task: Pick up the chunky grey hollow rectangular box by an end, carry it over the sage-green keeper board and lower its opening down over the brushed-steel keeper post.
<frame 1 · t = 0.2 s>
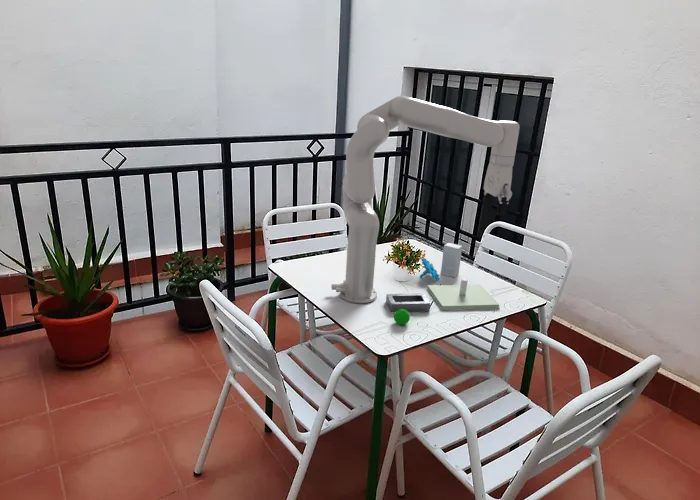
hand: (493, 210, 166), 31 cm above the table, tool pointing down, fingers open, 9 cm apart
gear: (429, 278, 187), on the table
skincare box: (449, 274, 191), on the table
grey hollow rectangular box: (407, 306, 163), on the table
keeper board: (461, 298, 171), on the table
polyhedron: (401, 324, 153), on the table
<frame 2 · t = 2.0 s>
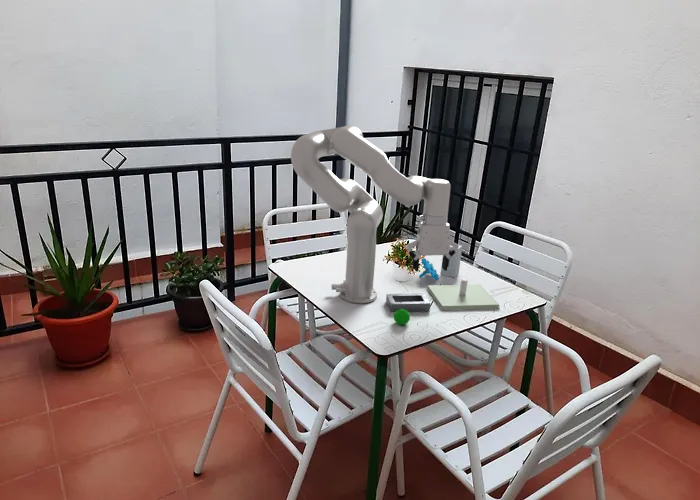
hand: (430, 269, 160), 13 cm above the table, tool pointing down, fingers open, 9 cm apart
nothing on the table moved.
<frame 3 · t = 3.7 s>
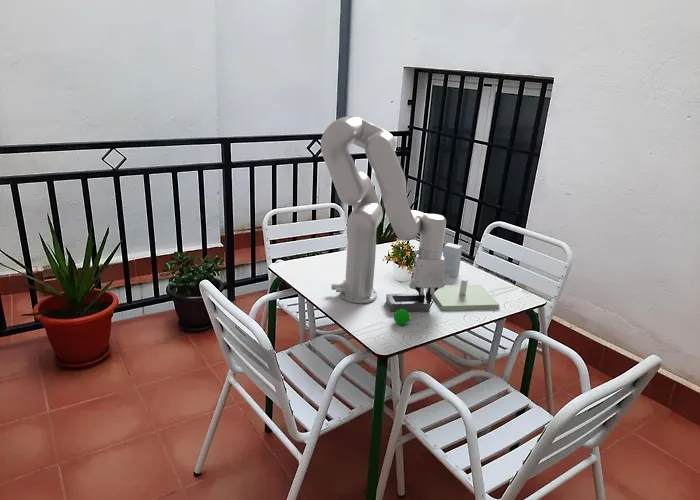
hand: (424, 303, 164), 1 cm above the table, tool pointing down, fingers closed on grey hollow rectangular box
grey hollow rectangular box: (407, 306, 163), on the table, touching gripper
everything else where it was.
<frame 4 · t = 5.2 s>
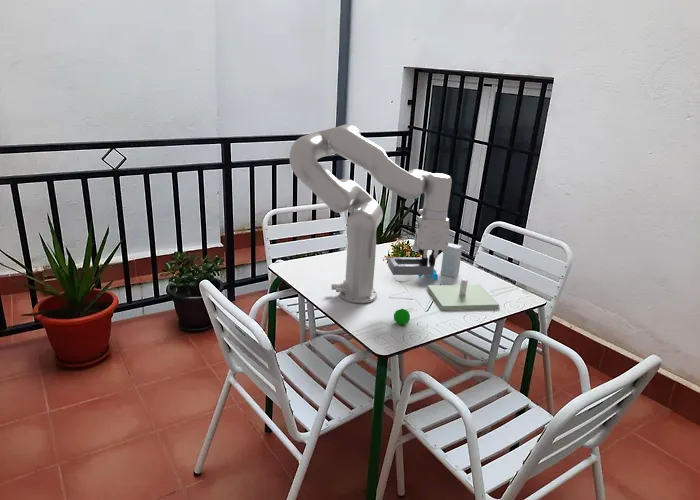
hand: (427, 267, 160), 14 cm above the table, tool pointing down, fingers closed on grey hollow rectangular box
grey hollow rectangular box: (410, 270, 159), point 13 cm above the table, touching gripper
everything else where it was.
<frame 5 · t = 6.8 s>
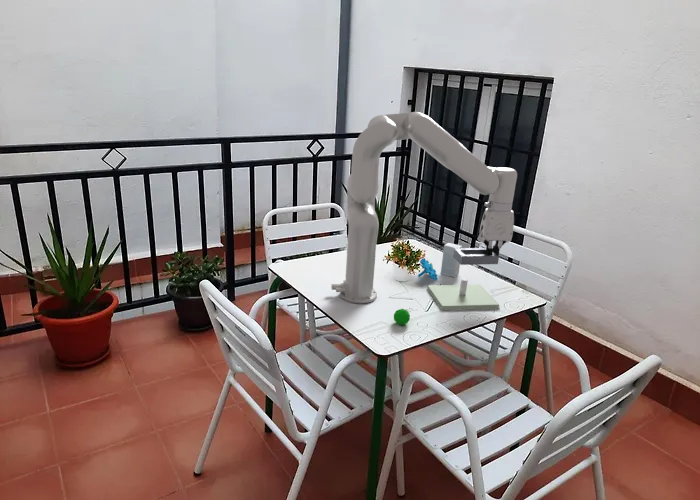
hand: (491, 257, 167), 15 cm above the table, tool pointing down, fingers closed on grey hollow rectangular box
grey hollow rectangular box: (475, 260, 167), point 14 cm above the table, touching gripper
everything else where it was.
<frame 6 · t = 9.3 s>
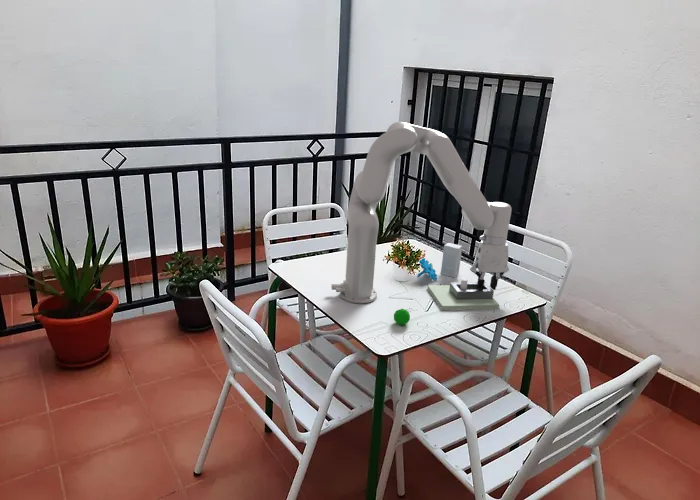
hand: (486, 288, 172), 4 cm above the table, tool pointing down, fingers open, 3 cm apart
grey hollow rectangular box: (470, 294, 171), point 1 cm above the table, touching keeper board
everything else where it was.
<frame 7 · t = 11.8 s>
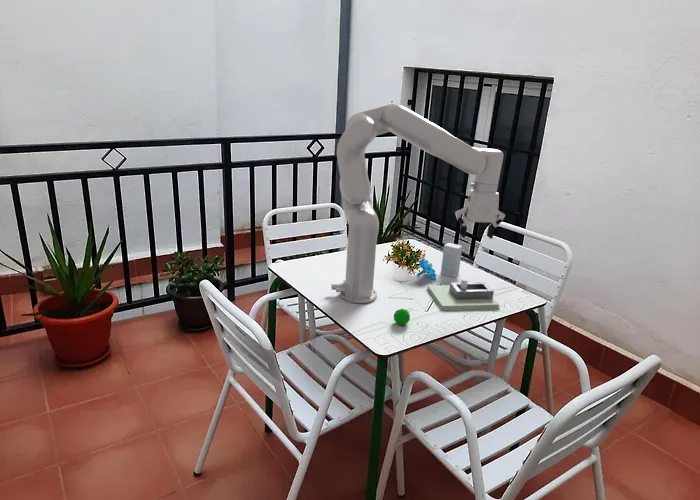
hand: (476, 236, 166), 22 cm above the table, tool pointing down, fingers open, 9 cm apart
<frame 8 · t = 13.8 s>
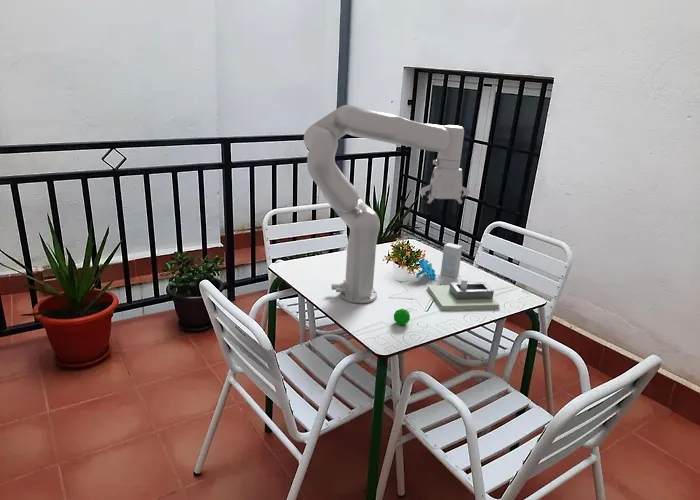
hand: (442, 214, 168), 28 cm above the table, tool pointing down, fingers open, 9 cm apart
at the end: grey hollow rectangular box inside the target area on the keeper board (3.0 cm from its centre), point 1.5 cm above the keeper board's base; grey hollow rectangular box tilted 0°; the gripper is holding nothing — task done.
